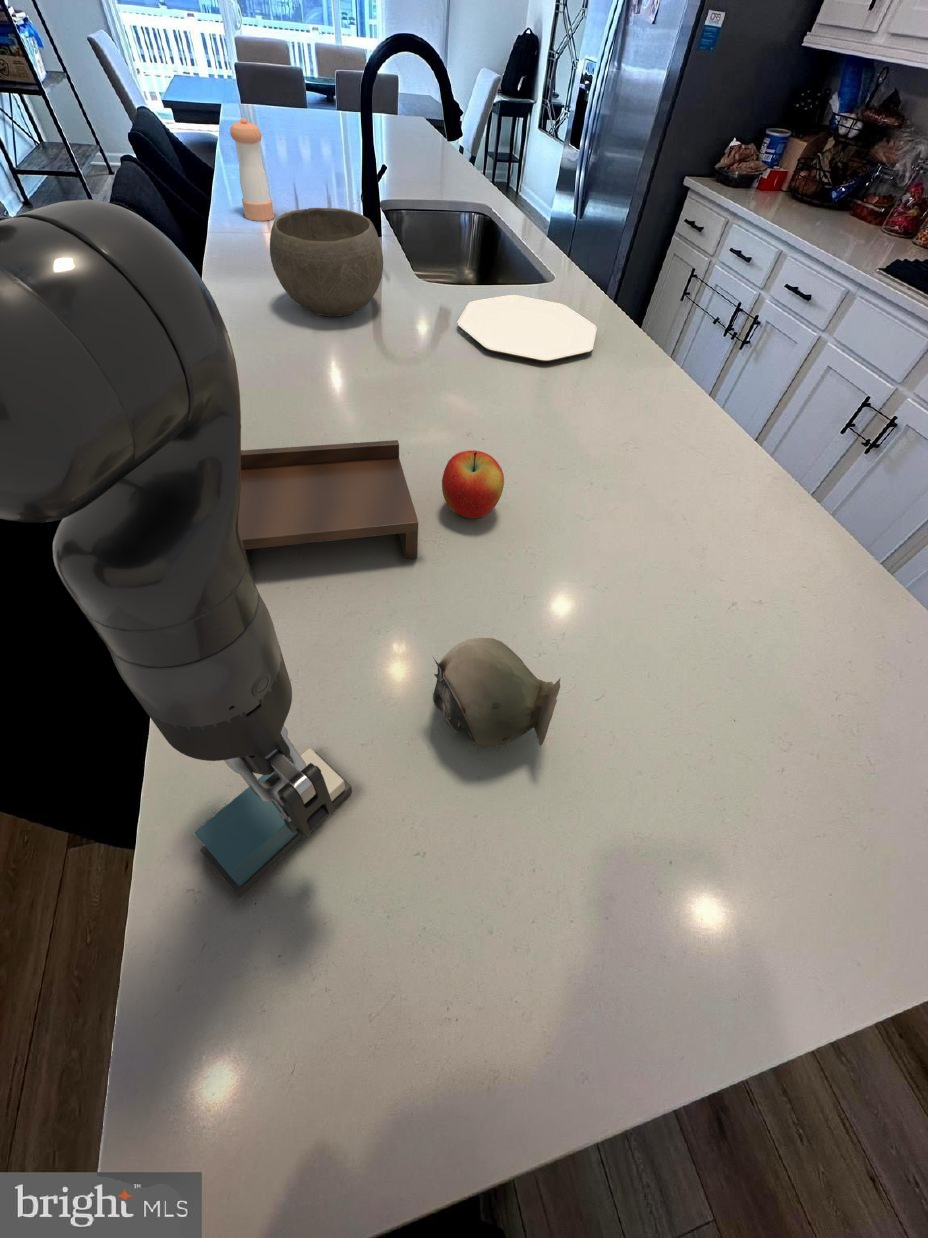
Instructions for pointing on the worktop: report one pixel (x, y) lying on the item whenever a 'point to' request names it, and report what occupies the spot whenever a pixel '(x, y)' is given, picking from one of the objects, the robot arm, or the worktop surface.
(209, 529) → the robot arm
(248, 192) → the pepper shaker
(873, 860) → the worktop surface
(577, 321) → the plate
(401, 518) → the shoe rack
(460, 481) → the apple
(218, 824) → the teal eraser block
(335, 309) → the bowl
